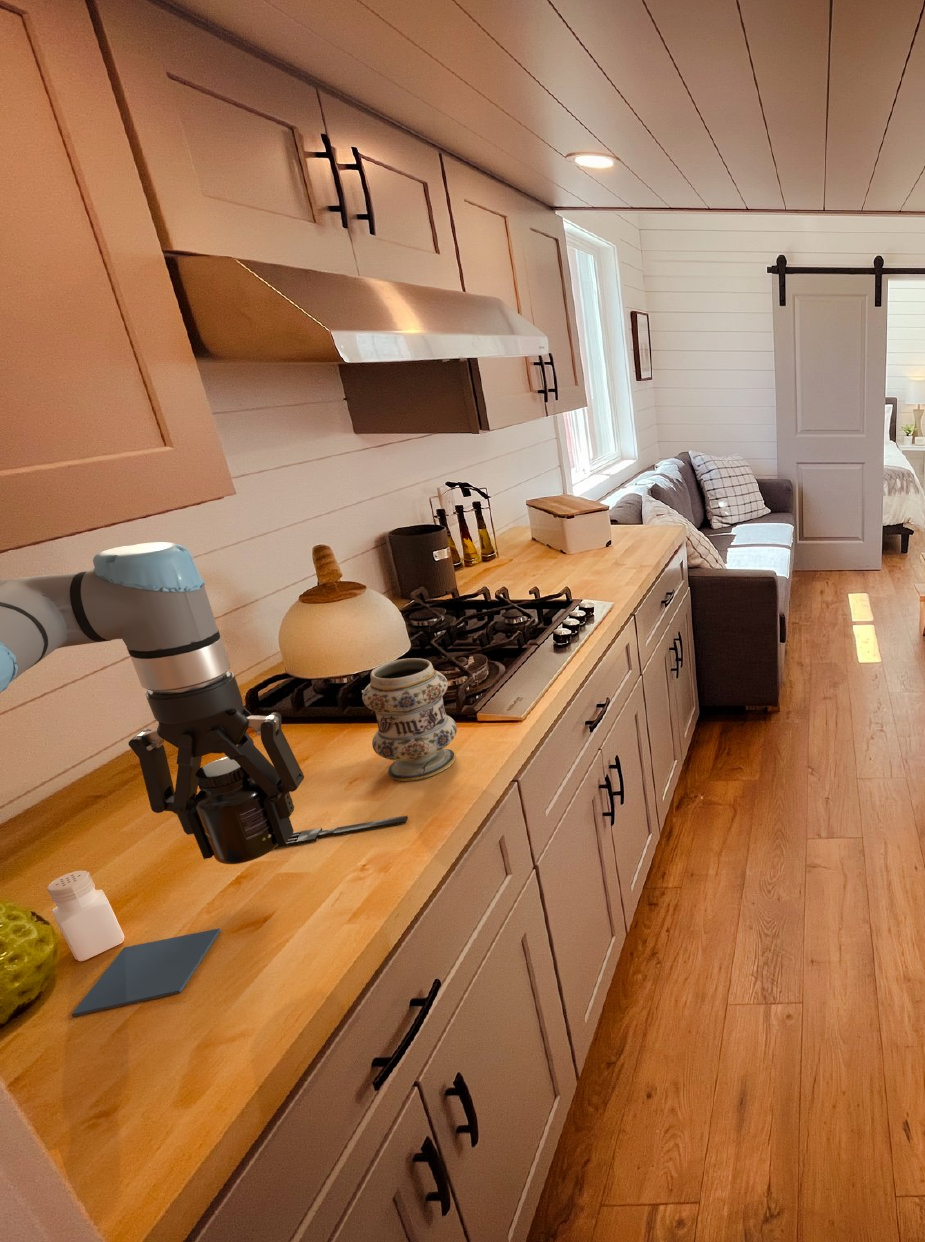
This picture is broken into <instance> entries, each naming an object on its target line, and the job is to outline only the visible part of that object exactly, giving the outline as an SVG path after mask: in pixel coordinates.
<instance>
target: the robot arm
mask: <svg viewBox="0 0 925 1242" xmlns="http://www.w3.org/2000/svg"><path fill="white" fill-rule="evenodd" d="M92 564H93V568H92V569H90V570H87V571H78V572H67V573H56V574H45V575H36V576H35V575H34V576H24V577H23V576H22V577H11V578H0V694H2V693H3V692H4V691H5V690H7V689H8V688H9V686H10V685H11V683H12V682H13V681H15V680H16V679H17V678H18V677H20V676H21V675H23V674H24V673H25V672H26V671H27V670H29V669H31V668H33V666H35V665H37V664H38V663H40V662H41V661H42V660H44V659H45V658H46V657H47V656H49V655H50V654H52V653H53V652H55V650H58V649H62V648H68V647H74V646H82V645H90V644H96V643H103V642H105V643H106V642H110V641H113V640H122V641H123V643H124V645H125V646H126V650H127V652H128V655H129V657H130V659H131V662H132V664H133V667H134V670H135V672H136V675H137V679H138V680H139V683H140V687H142V688H143V689H145V690H147V691H146V692H145V697H146V701H147V702H148V705H149V707H150V710H151V713H152V715H153V717H154V719H155V720H156V721H157V722H158V726H157V727H156V728H154V729H150V728H143V729H142V730H141V731H140V732H139V733H137V734H136V735H135V736H133V737H132V738H131V739H130V740H129V741H128V742H127V743H128V747H129V748H130V749H131V750H132V752H134V754H135V755H136V756H137V757H138V760H139V764H140V765H139V766H140V768H141V772H142V776H143V780H144V785H145V789H146V793H147V797H148V801H149V805H150V809H151V811H152V812H153V813H155V814H161V813H164V812H172V813H174V814H175V815H177V818H178V821H179V823H180V824H181V827H182V830H183V832H184V833H185V834H186V835H188V836H189V835H194V838H195V841H196V843H197V846H198V848H199V852H201V856H202V858H203V860H207V859H212V858H213V857H214V855H213V853H212V850H211V848H210V845H209V843H208V840H207V838H206V835H205V832H204V830H203V827H202V825H201V822H200V820H199V817H198V814H197V812H196V809H195V806H194V800H195V797H196V795H197V794H198V788H199V786H198V781H197V779H196V772H197V771H198V770H199V769H200V768H201V767H202V758H203V757H204V756H206V755H207V756H208V755H210V754H224V755H225V756H226V757H228V758H229V759H231V760H235V761H236V762H237V763H238V764H239V765H240V766H241V767H242V768H243V769H244V770H245V772H246V773H247V774H248V775H249V776H250V777H251V778H252V779H253V780H254V781H255V782H256V783H257V784H258V785H259V786H260V787H261V788H262V789H263V790H264V792H265V793H266V794H267V795H268V797H267V798H266V799H265V800H264V802H263V803H264V806H265V809H266V812H267V815H268V818H269V821H270V823H271V826H272V829H273V832H274V835H275V838H276V841H277V843H278V846H280V845H286V843H287V841H288V840H289V838H290V837H291V835H292V833H293V832H295V831H294V828H293V825H292V822H291V818H290V817H291V816H292V814H293V813H294V810H295V805H294V802H293V800H292V797H291V793H293V792H295V791H297V789H298V788H299V786H300V785H301V784H302V782H303V781H304V778H305V775H304V772H303V771H302V768H301V767H300V764H299V763H298V761H297V758H296V756H295V754H294V752H293V750H292V748H291V746H290V744H289V742H288V740H287V738H286V735H285V733H284V732H283V730H282V714H280V713H279V712H270V714H269V715H254V714H252V713H251V712H250V711H249V710H248V709H247V708H246V707H245V706H244V703H243V698H242V693H241V691H240V688H239V685H238V681H237V679H236V676H235V673H234V672H233V671H230V669H231V666H232V665H231V661H230V660H229V656H228V654H227V651H226V648H225V645H224V642H223V638H222V636H221V633H220V630H219V628H218V625H217V621H216V619H215V616H214V613H213V609H212V606H211V603H210V600H209V597H208V596H209V595H208V593H207V590H206V583H205V580H204V579H203V578H202V577H201V574H200V572H199V570H198V567H197V565H196V562H195V560H194V558H193V555H192V553H191V551H190V550H189V549H188V548H187V547H185V546H184V545H181V544H178V543H175V542H169V541H165V542H164V541H161V542H160V541H156V542H143V543H137V544H132V545H121V546H117V547H113V548H108V549H105V550H103V551H100V552H98V553H96V554H95V555H94V556H93V559H92ZM249 728H252V729H254V732H255V735H256V736H258V737H259V736H260V740H261V744H262V746H263V748H264V749H265V751H266V753H267V755H268V758H269V759H270V760H268V759H267V757H265V755H264V754H263V753H262V752H261V751H260V750H259V749H258V748H257V746H255V742H254V739H253V738H252V737H251V736H250V735H249V733H248V732H247V731H248V729H249ZM165 742H167V743H169V744H171V745H172V746H174V747H175V748H177V756H176V765H177V772H176V780H175V788H174V783H173V779H172V774H171V770H170V766H169V761H168V757H167V752H166V748H165V746H164V743H165ZM290 792H291V793H290Z"/></svg>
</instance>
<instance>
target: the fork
mask: <svg viewBox="0 0 925 1242" xmlns="http://www.w3.org/2000/svg"><path fill="white" fill-rule="evenodd" d="M408 818H409V817H408V815H402V816H396V817H391V818H384V819H379V820H378V819H377V820H371V821H367V822H360V823H355V824H350V825H348V824H347V825H343V826H337V827H335V828H329V829H324V830H323V828H322V827H318V828H312V829H306V830H300V831H294V832H293V833H292V835H291V837H290V838H289V840H288V841H287V843H286V845H280V846H277V847H276V848H274V849H273V850H276V849H281V848H287V847H292V846H293V847H294V846H298V845H304V844H309V843H310V844H311V843H315V842H317V841H318V840H319V839H320V838H325V837H326V838H327V837H333V836H334V837H336V836H343V835H349V834H354V833H360V832H366V831H371V830H377V829H382V828H383V829H384V828H387V827H388V828H389V827H393V826H399V825H405V824H406V823H407V821H408Z"/></svg>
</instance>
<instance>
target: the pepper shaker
mask: <svg viewBox="0 0 925 1242" xmlns="http://www.w3.org/2000/svg"><path fill="white" fill-rule="evenodd" d="M93 880H94V879H93V878H92V876H91V873H90V872H89V871H86V870H76V871H72V872H68V873H65V874H63V875H61V876H59V877H57V878H55V879H54V880H53V881H51V882H50V883H48V884H47V885H48V886H47V887H46V890H47V892H48V894H49V896H50V898H51V901H52V902H53V904H55V905H56V906H55V907H54V908H53V909H51V913H52V915H53V917H54V919H55V921H56V923H57V926H58V927H59V930H60V932H61V933H62V935H63V938H64V940H65V942H66V943H67V945H68V947H69V950H70V952H71V954H72V956H73V957H74V959H75V960H76V961H78V962H84V961H87V960H89V959H91V958H93V957H96V956H97V955H100V954H102V953H103V952H106V951H108V950H111V949H112V948H115V947H116V946H119V945H120V944H122V943H123V942H124V941H125V937H126V936H125V934H124V932H123V929H122V927H121V925H120V923H119V921H118V919H117V917H116V914H115V912H114V910H113V908H112V905H111V904H110V901H109V899H108V897H107V896H106V894H105V892H104V890H103V889H101V888H100V889H96V885H95V883H94V881H93Z"/></svg>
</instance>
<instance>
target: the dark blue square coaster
mask: <svg viewBox="0 0 925 1242" xmlns="http://www.w3.org/2000/svg"><path fill="white" fill-rule="evenodd" d="M220 933H221V928H215V929H208V930H204V931H198V932H194V933H188V934H183V935H179V936H175V937H169V938H165V939H159V940H153V941H150V942H144V943H139V944H135V945H129V946H124V947H123V948H122V950H121V951H120V952H119V953H118V955H117V956H116V957H115V958H114V960H113V961H112V962H111V964H110V965H109V966H108V967H107V968H106V970H105V971H104V972H103V973H102V974H101V976H100V977H99V978H98V980H96V982H95V983H94V985H93V986H92V987H91V989H90V990H89V991H88V993H87V994H86V995H84V997H83V999H82V1000H81V1001H80V1003H79V1004H78V1005H77V1006H76V1008H75V1009H74V1010H73V1011H72V1013H71V1014H70V1015H71V1016H72V1017H78V1016H83V1015H87V1014H91V1013H96V1012H101V1011H106V1010H110V1009H115V1008H119V1007H124V1006H128V1005H131V1004H136V1003H141V1002H146V1001H151V1000H155V999H160V998H163V997H169V996H173V995H178V994H181V993H182V991H183V990H184V988H185V987H186V985H187V984H188V982H189V980H190V979H191V978H192V976H193V975H194V973H195V971H196V970H197V968H198V967H199V964H201V963H202V960H203V959H204V957H205V956H206V954H207V953H208V951H209V950H210V948H211V947H212V945H213V943H214V942H215V940H216V939H217V937H218V936H219V934H220Z"/></svg>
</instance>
